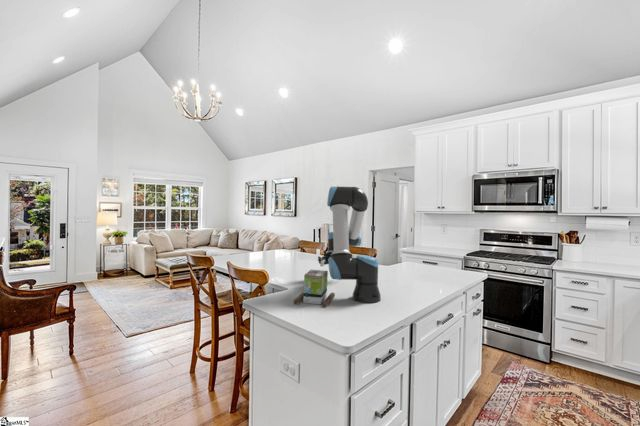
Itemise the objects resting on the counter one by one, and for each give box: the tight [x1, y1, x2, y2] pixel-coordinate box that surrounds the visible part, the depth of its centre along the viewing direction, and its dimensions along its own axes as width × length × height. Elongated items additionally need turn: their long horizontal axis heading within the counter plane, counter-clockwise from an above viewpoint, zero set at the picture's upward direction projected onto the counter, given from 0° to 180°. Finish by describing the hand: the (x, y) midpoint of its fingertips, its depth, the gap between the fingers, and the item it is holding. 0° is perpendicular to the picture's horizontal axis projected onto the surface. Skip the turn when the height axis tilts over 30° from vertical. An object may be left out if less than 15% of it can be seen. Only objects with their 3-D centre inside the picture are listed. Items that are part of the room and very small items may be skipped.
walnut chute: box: [293, 291, 336, 309], centre depth 162 cm, size 17×20×2 cm
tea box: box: [302, 269, 329, 305], centre depth 163 cm, size 15×10×15 cm
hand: (321, 264), depth 175 cm, fingers closed
